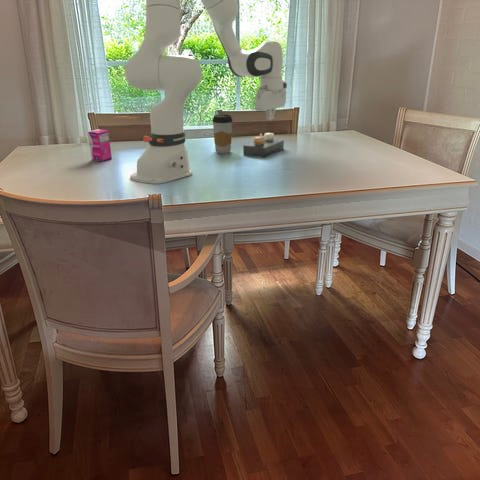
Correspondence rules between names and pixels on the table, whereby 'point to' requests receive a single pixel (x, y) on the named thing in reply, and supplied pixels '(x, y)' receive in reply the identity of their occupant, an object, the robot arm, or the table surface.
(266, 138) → the knob cream
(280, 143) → the mount
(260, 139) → the knob orange
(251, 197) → the table surface
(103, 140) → the supplement box
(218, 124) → the coffee cup
